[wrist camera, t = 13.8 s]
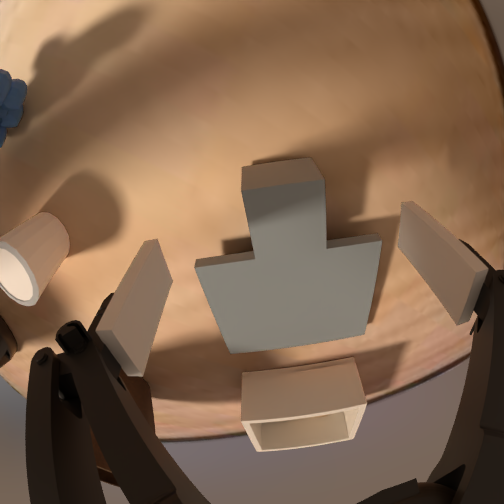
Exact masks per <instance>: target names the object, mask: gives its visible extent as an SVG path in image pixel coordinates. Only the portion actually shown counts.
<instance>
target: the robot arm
mask: <svg viewBox="0 0 504 504" xmlns="http://www.w3.org/2000/svg"><path fill="white" fill-rule="evenodd" d="M398 247H399V249H400V250H401V251H402V252H403V253H404V255H405V256H406V257H407V258H408V260H409V261H410V262H411V263H412V265H413V266H414V267H415V268H416V270H417V271H418V272H419V274H420V275H421V276H422V277H423V279H424V280H425V281H426V283H427V284H428V285H429V287H430V288H431V289H432V291H433V292H434V293H435V295H436V296H437V298H438V299H439V300H440V302H441V303H442V305H443V306H444V307H445V309H446V310H447V312H448V313H449V315H450V316H451V318H452V319H453V321H454V322H455V324H456V325H460V324H462V323H465V322H468V321H469V320H470V318H471V315H472V313H473V311H475V313H476V314H477V315H478V316H477V318H476V320H475V323H474V325H473V327H472V329H471V331H470V335H472V333H473V331H474V335H473V342H472V349H471V355H470V361H469V367H468V371H467V376H466V381H465V386H464V389H463V394H462V398H461V402H460V405H459V408H458V412H457V415H456V419H455V422H454V425H453V428H452V431H451V434H450V437H449V440H448V443H447V445H446V448H445V451H444V453H443V455H442V458H441V459H440V461H439V463H438V464H437V466H436V467H435V468H434V470H433V471H432V473H431V475H430V476H429V478H428V480H427V482H420V483H417V480H416V478H415V479H413V480H410V481H408V482H405V483H402V484H399V485H396V486H394V487H391V488H387V489H384V490H382V491H380V492H378V493H376V494H374V495H373V496H371V497H369V498H367V499H365V500H363V501H361V502H359V503H357V504H504V270H495V269H494V268H493V267H492V266H491V265H490V264H489V263H488V262H487V261H486V260H485V259H484V258H483V257H482V256H480V254H478V253H477V252H476V251H475V250H474V249H473V248H472V247H471V246H470V245H469V244H467V243H466V242H464V241H462V240H460V239H457V238H456V237H455V236H454V235H453V234H452V233H451V232H450V231H448V230H447V229H446V228H445V227H444V226H443V225H441V224H440V223H439V222H438V221H437V220H436V219H434V218H433V217H432V216H431V215H430V214H428V213H427V212H426V211H425V210H423V209H422V208H421V207H420V206H418V205H417V204H416V203H415V202H413V201H409V202H401V216H400V229H399V239H398ZM172 282H173V280H172V277H171V275H170V272H169V270H168V267H167V264H166V261H165V259H164V256H163V253H162V250H161V248H160V245H159V242H158V239H153V240H148V241H144V243H143V245H142V246H141V248H140V250H139V251H138V253H137V255H136V256H135V258H134V260H133V261H132V263H131V265H130V267H129V268H128V270H127V272H126V273H125V275H124V277H123V279H122V281H121V282H120V284H119V286H118V288H117V290H116V291H115V293H111V294H110V295H109V296H108V297H107V298H106V299H105V300H104V301H103V303H102V305H101V306H100V310H98V312H97V314H96V316H95V318H94V320H93V321H92V323H91V325H90V327H89V329H88V331H86V329H85V328H84V326H83V325H82V323H81V322H80V321H77V320H74V321H70V322H68V323H66V324H65V325H63V326H62V327H61V328H60V329H59V330H58V332H57V334H56V339H55V340H56V341H57V343H58V344H59V345H60V347H61V348H62V349H63V351H64V353H61V354H57V355H56V354H55V353H54V351H53V350H52V349H51V348H49V347H45V348H42V349H40V350H39V351H37V352H36V353H35V355H34V357H33V358H32V361H31V366H30V374H29V382H28V392H27V405H26V433H25V434H26V436H25V437H26V439H25V440H26V466H27V478H28V487H29V495H30V502H31V504H106V501H105V497H104V494H103V490H102V486H101V482H100V478H99V474H98V470H97V465H96V460H95V455H94V450H93V444H92V438H91V432H90V427H91V429H92V431H93V434H94V436H95V438H96V441H97V443H98V445H99V447H100V449H101V452H102V454H103V456H104V458H105V460H106V462H107V464H108V466H109V468H110V470H111V472H112V474H113V475H114V477H115V479H116V481H117V483H118V484H119V486H120V488H121V490H122V491H123V493H124V495H125V496H126V498H127V500H128V501H129V503H130V504H211V503H210V502H209V501H207V499H206V498H205V497H204V496H203V495H202V494H201V493H200V492H199V491H198V489H197V488H196V487H195V486H194V485H193V483H192V482H191V481H190V480H189V479H188V477H187V476H186V475H185V474H184V472H183V471H182V470H181V469H180V467H179V466H178V465H177V463H176V462H175V461H174V459H173V458H172V457H171V455H170V454H169V453H168V451H167V450H166V449H165V447H164V446H163V444H162V443H161V441H160V440H159V439H158V437H157V436H156V434H155V433H154V431H153V430H152V428H151V427H150V425H149V424H148V422H147V420H146V419H145V417H144V416H143V414H142V412H141V411H140V409H139V408H138V406H137V404H136V403H135V401H134V399H133V397H132V396H131V394H130V392H129V390H128V389H127V387H126V385H125V383H124V381H123V380H122V378H121V377H120V376H119V373H120V370H121V368H122V369H123V371H124V372H125V373H126V374H127V376H144V372H145V368H146V365H147V361H148V358H149V354H150V351H151V347H152V344H153V341H154V337H155V334H156V331H157V328H158V324H159V321H160V318H161V315H162V312H163V309H164V305H165V302H166V299H167V296H168V293H169V290H170V287H171V284H172ZM16 351H17V345H16V341H15V339H14V337H13V335H12V333H11V331H10V330H9V328H8V327H7V325H6V324H5V322H4V321H3V320H2V318H1V317H0V368H1V367H2V366H4V365H5V364H6V363H7V362H9V361H10V360H11V359H12V357H13V356H14V354H15V352H16ZM89 424H90V425H89Z"/></svg>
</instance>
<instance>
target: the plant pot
mask: <svg viewBox="0 0 504 504" xmlns="http://www.w3.org/2000/svg"><path fill="white" fill-rule="evenodd" d="M119 376H120V377H121V378H122V380H123V381H124V383H125V385H126V387H127V389H128V390H129V392H130V394H131V396H132V397H133V399H134V401H135V403H136V404H137V406H138V408H139V409H140V411H141V412H142V414H143V416H144V417H145V419H146V420H147V422H148V424H149V425H150V427H151V428H152V430H153V431H154V433H155V423H154V414H153V407H152V399H151V393H150V388H149V385H148V384H147V383H146V382H145V381H144V380H143V379H142V378H141V377H139V376H127V374H126V373H125V372H124V371H123V369H121V370H120V373H119ZM89 425H90V424H89ZM90 432H91V438H92V444H93V450H94V455H95V460H96V465H97V470H98V474H99V478H100V481H103V482H105V483H108V484H111V485H114V486H118V487H120V486H119V484H118V483H117V481H116V479H115V477H114V475H113V474H112V472H111V470H110V468H109V466H108V464H107V462H106V460H105V458H104V456H103V454H102V452H101V449H100V447H99V445H98V443H97V441H96V438H95V436H94V434H93V431H92V429H91V427H90Z"/></svg>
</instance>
